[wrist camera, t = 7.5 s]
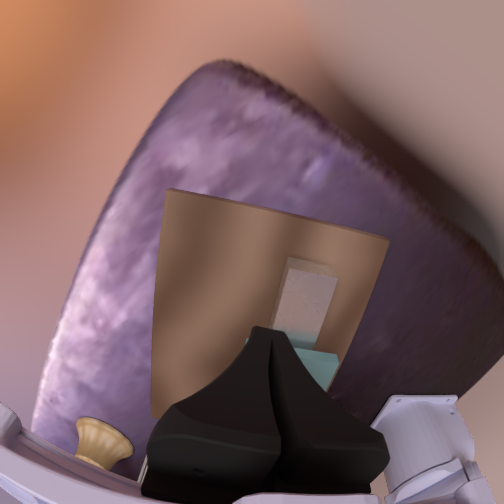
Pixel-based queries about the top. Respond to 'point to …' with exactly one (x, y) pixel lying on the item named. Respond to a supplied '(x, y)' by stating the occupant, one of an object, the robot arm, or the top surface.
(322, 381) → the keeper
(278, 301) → the link
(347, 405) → the top surface
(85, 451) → the hand bell
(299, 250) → the base plate
